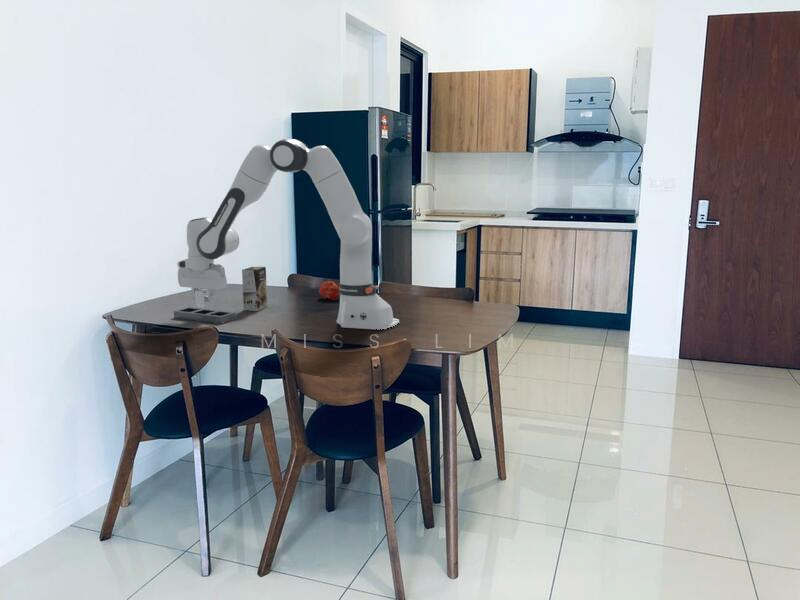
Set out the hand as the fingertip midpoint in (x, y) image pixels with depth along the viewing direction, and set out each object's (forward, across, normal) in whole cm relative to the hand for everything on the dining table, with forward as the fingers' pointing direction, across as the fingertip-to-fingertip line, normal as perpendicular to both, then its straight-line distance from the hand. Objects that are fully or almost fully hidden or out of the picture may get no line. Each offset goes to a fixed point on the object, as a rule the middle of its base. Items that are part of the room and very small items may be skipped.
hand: (203, 300), depth 232 cm
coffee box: (+7, -6, -22) cm, 24 cm away
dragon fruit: (+7, -23, -51) cm, 56 cm away
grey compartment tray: (+7, 0, 0) cm, 7 cm away
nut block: (+2, 0, 0) cm, 2 cm away
